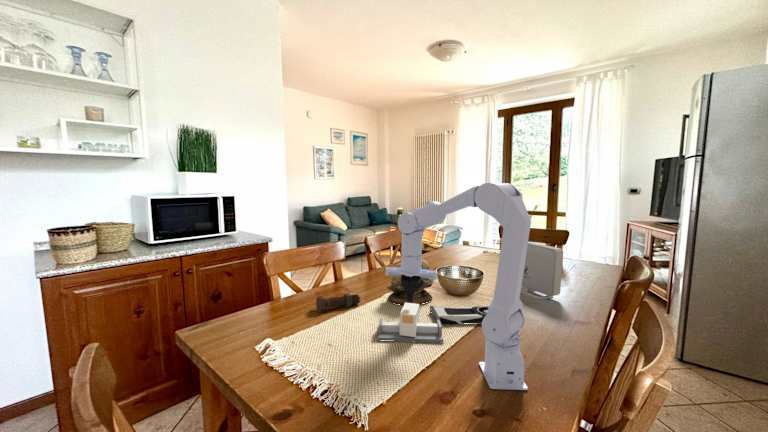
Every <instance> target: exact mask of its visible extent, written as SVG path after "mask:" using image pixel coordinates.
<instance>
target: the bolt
mask: <svg viewBox="0 0 768 432" xmlns="http://www.w3.org/2000/svg"><path fill="white" fill-rule="evenodd" d="M360 302H361V297H360V295H359V294H350V293H349V292H346V293H344V294H343V295H342V296H337V297H328V298H327V297H326V298H325V297H324V296H323V295H322V294H321V295H318V296H317V297H316V301H315V304H316V311H317V312H318V313H321V314H322V313H324V312H325V310H326V309H329V308H330V309H331V308H338V307H345V308H351V307H352V305H357V304H359V303H360Z"/></svg>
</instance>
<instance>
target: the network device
mask: <svg viewBox="0 0 768 432" xmlns="http://www.w3.org/2000/svg"><path fill="white" fill-rule="evenodd" d="M563 261H564V251H563V248H560V247H556V246H551V245H545V244H541V243H537V242H531V241H528V246H527V252H526V259H525V266H524V272H523V279H522V285H521V292H520V293H522V294H524V295H527V296H530V297H532V298H535V299H538V300H546V299H547V300H548V299H552V298H553V297H554V296H559V295H560V294H561V287H562V286H561V285H562V275H563V274H562V273H563ZM533 292H538V293H540V294H543V295H544V296H538V295H536V294H533Z"/></svg>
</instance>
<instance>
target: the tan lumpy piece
mask: <svg viewBox="0 0 768 432" xmlns="http://www.w3.org/2000/svg"><path fill="white" fill-rule="evenodd" d="M394 267H401V262H398V263H396V264H395V266H394ZM430 268H431V267H430V264H429V262H428V261H427V260H426V259H422V264H421V269H426V270H430ZM434 282H435V281H434V279H431V278H421V279H420V281H419V283H418V285H417V287H416V290H415V294H414V299H413V302H412V303H415V304H422V303H426V302H429V301H430V302H432V300H433V295H432V294H431V293H430V292H428V291H427V290H426V289H428V288H431V287H432V286H433V284H434ZM390 283H391V284H389V285H387V290H389V291H392V293H390V294H389V295H388V297H387V301H388V302H389V301H390V302H392V303H395V304H400V305H399V306H401V305H404V304H405V303H410V302H407V296H406V292H405V289H404V287H403V285H402V283H401V276H396V275H391V276H390ZM390 302H389V303H390ZM430 302H429V303H430ZM392 303H391V304H392ZM395 304H394V305H395ZM426 304H427V303H426Z"/></svg>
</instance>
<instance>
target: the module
mask: <svg viewBox="0 0 768 432" xmlns="http://www.w3.org/2000/svg"><path fill="white" fill-rule="evenodd" d="M420 306H421V305H420V304H415V303H405V304H404V306H402V307H401V310H400V311H399V322H400V335H403V336H411V337H415V336H416V328H417V325H418V323H420Z"/></svg>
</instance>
